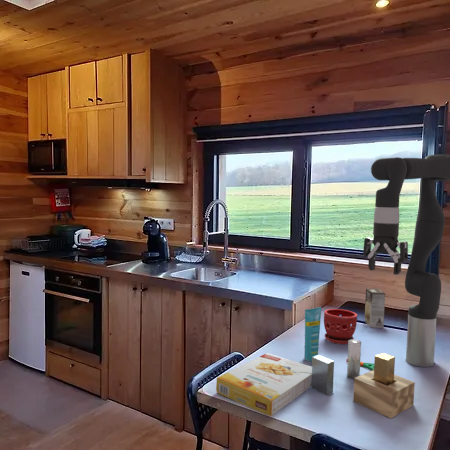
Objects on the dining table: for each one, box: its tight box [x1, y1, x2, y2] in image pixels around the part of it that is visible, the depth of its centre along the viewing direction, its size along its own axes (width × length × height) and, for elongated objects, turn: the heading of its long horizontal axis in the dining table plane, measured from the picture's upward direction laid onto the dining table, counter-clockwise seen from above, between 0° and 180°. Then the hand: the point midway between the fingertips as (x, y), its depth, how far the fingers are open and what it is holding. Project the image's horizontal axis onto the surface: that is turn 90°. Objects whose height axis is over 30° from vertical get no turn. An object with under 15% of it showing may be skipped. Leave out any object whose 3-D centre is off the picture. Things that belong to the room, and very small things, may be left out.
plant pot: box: [323, 308, 358, 345], centre depth 176 cm, size 13×13×12 cm
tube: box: [304, 306, 322, 362], centre depth 156 cm, size 7×5×19 cm, turn 123°
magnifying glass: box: [346, 357, 374, 371], centre depth 150 cm, size 15×6×2 cm, turn 54°
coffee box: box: [364, 288, 386, 329], centre depth 197 cm, size 9×6×16 cm
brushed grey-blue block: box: [310, 354, 335, 396], centre depth 132 cm, size 3×6×10 cm, turn 38°
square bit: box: [373, 352, 396, 386], centre depth 124 cm, size 4×4×12 cm
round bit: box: [346, 339, 362, 380], centre depth 142 cm, size 4×4×12 cm
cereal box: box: [215, 352, 312, 417], centre depth 134 cm, size 20×6×28 cm
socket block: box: [352, 370, 416, 419], centre depth 125 cm, size 12×12×7 cm
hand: (383, 272), depth 136 cm, fingers open, 8 cm apart
